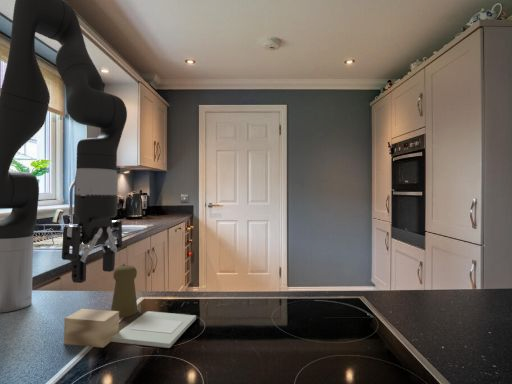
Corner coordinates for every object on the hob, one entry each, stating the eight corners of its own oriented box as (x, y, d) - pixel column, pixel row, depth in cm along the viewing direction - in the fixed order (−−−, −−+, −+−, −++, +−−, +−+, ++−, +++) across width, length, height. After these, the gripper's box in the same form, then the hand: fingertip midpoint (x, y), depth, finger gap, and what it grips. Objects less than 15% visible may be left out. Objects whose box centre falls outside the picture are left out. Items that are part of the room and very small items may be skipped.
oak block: (63, 344, 59) (64, 318, 59) (81, 333, 64) (82, 308, 64) (103, 348, 58) (104, 321, 58) (118, 336, 63) (119, 311, 63)
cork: (127, 318, 72) (129, 270, 72) (104, 315, 73) (105, 268, 73) (142, 309, 78) (143, 264, 78) (120, 306, 79) (121, 262, 79)
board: (110, 341, 61) (110, 336, 61) (147, 314, 74) (147, 310, 74) (169, 348, 59) (169, 343, 59) (196, 319, 72) (196, 315, 72)
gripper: (102, 193, 69) (100, 267, 69) (50, 192, 55) (47, 285, 55) (134, 193, 68) (132, 269, 68) (88, 192, 54) (86, 287, 54)
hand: (94, 276), depth 61 cm, fingers open, 8 cm apart
